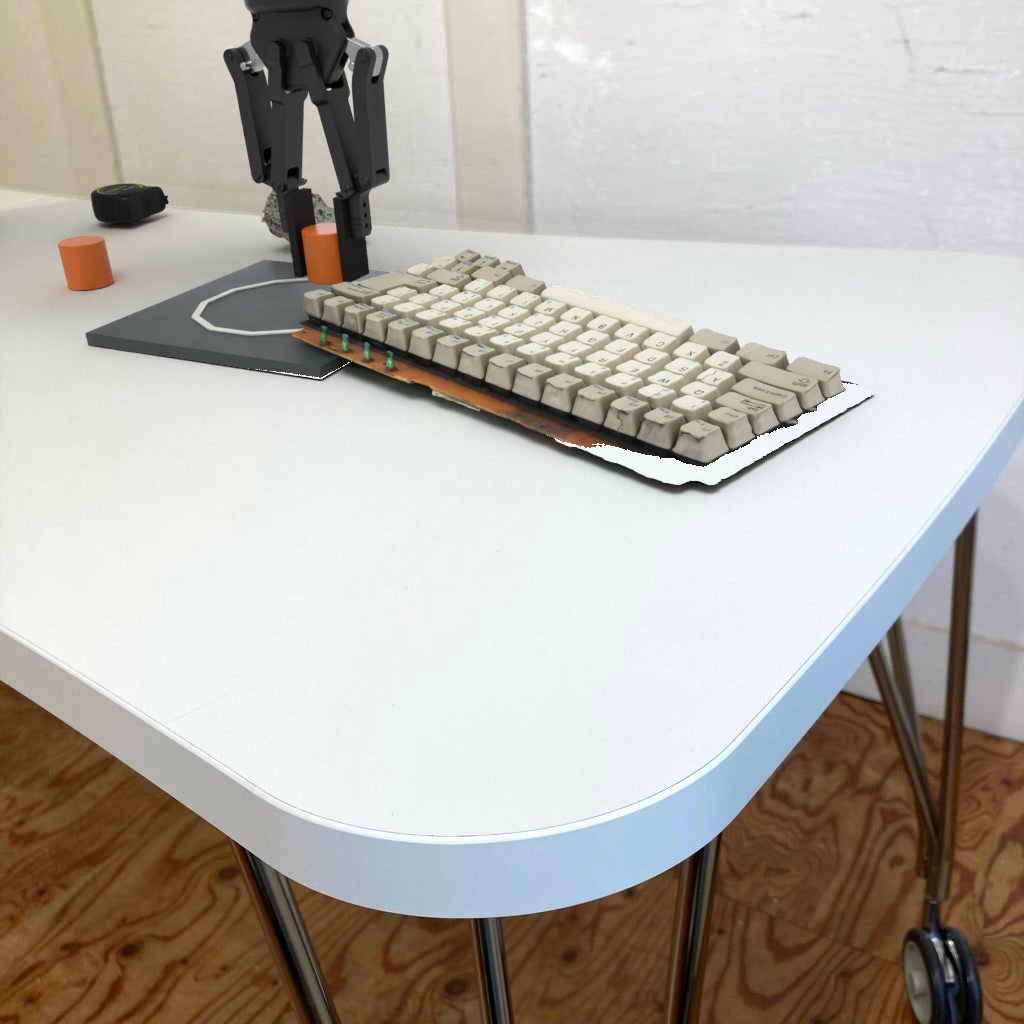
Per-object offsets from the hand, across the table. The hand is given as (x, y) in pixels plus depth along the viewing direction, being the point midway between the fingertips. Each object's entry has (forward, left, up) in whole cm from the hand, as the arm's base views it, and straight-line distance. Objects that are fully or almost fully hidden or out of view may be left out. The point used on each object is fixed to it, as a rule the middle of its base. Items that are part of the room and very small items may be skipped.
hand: (332, 274), depth 86 cm
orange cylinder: (-27, -1, -3) cm, 27 cm away
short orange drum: (0, 0, 0) cm, 0 cm away
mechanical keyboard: (+23, -7, -3) cm, 24 cm away
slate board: (-3, -3, -3) cm, 5 cm away
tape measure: (-42, +20, -3) cm, 46 cm away
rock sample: (-14, +18, -3) cm, 23 cm away
